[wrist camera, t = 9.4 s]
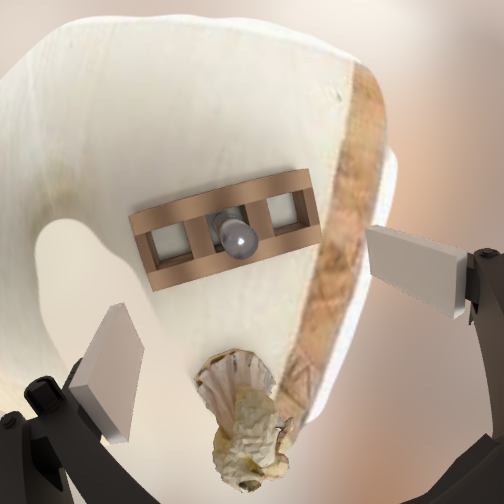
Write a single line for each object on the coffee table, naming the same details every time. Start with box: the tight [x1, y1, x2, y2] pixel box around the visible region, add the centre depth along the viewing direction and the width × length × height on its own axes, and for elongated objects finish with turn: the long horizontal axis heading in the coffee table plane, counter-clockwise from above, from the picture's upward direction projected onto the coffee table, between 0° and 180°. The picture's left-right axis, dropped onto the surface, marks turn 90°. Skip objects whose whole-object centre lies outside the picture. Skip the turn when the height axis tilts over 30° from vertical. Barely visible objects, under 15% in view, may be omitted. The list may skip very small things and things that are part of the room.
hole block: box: [129, 169, 323, 292], centre depth 35 cm, size 21×9×4 cm, turn 104°
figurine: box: [194, 349, 294, 493], centre depth 32 cm, size 12×12×20 cm
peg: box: [213, 212, 259, 260], centre depth 31 cm, size 3×3×12 cm
